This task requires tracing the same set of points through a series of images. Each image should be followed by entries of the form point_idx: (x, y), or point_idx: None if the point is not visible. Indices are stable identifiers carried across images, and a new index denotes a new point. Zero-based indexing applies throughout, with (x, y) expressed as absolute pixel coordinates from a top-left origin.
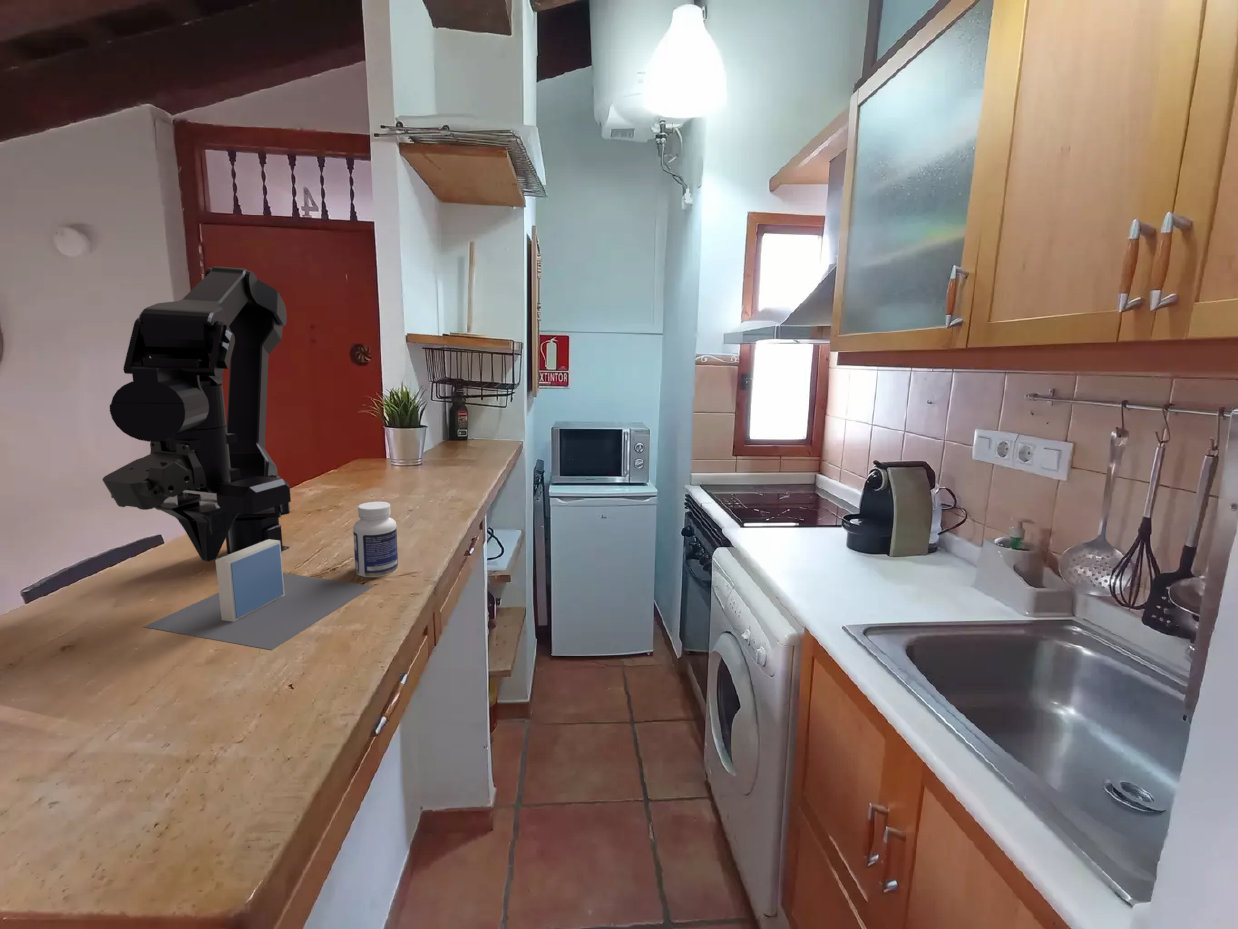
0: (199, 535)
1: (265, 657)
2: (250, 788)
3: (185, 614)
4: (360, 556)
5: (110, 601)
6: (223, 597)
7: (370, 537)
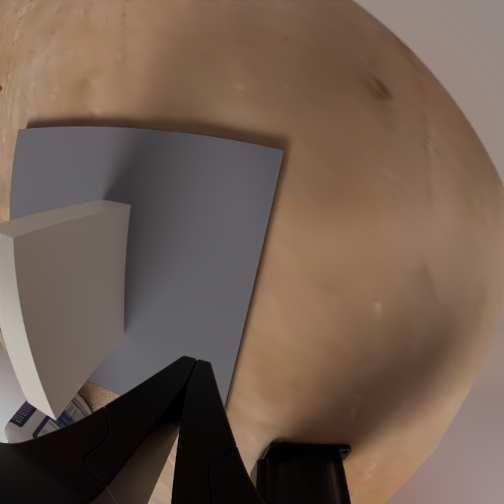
0: (143, 427)
1: (29, 122)
2: (12, 3)
3: (231, 221)
4: None
5: (442, 288)
6: (86, 209)
7: (14, 420)
